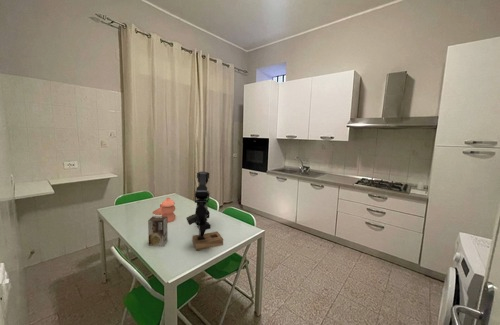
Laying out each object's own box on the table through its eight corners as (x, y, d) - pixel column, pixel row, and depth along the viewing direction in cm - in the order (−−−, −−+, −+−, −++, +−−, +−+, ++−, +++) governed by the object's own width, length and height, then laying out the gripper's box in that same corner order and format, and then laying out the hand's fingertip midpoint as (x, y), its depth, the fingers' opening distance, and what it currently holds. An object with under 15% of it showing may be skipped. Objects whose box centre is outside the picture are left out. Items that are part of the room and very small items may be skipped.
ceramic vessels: (144, 213, 170) (144, 191, 168) (170, 208, 183) (170, 188, 181) (155, 227, 143) (154, 202, 141) (184, 221, 156) (184, 197, 154)
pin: (197, 238, 122) (198, 224, 121) (202, 237, 124) (203, 223, 123) (199, 240, 120) (199, 226, 119) (204, 239, 121) (204, 225, 120)
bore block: (192, 241, 125) (192, 235, 125) (217, 237, 132) (217, 231, 132) (196, 250, 115) (196, 243, 115) (222, 245, 123) (223, 238, 122)
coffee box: (168, 241, 124) (168, 216, 123) (163, 247, 118) (163, 220, 116) (152, 241, 124) (152, 215, 122) (148, 246, 117) (147, 220, 116)
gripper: (184, 206, 124) (184, 231, 126) (190, 217, 108) (190, 245, 109) (202, 204, 130) (202, 228, 131) (211, 214, 113) (210, 241, 115)
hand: (201, 235), depth 121 cm, fingers closed on pin, 3 cm apart
